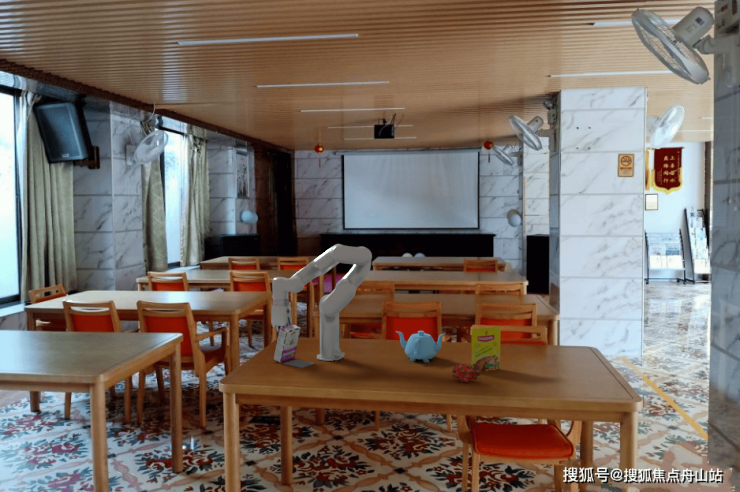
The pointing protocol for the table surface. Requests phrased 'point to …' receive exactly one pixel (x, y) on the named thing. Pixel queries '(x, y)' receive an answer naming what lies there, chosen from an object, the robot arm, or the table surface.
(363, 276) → the robot arm
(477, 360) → the food package
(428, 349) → the teapot
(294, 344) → the candy bar box
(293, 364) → the mat
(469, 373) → the dragon fruit
